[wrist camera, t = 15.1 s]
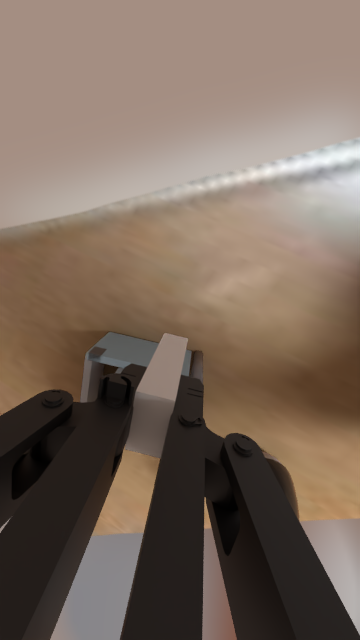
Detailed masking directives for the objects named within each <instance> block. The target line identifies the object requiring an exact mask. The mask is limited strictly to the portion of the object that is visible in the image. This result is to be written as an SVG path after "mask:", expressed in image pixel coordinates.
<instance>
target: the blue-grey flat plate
mask: <svg viewBox="0 0 360 640" xmlns="http://www.w3.org/2000/svg"><path fill="white" fill-rule="evenodd" d="M158 345H159V343H156V342H151V341H147V340H143V339H138V338H134V337H130V336H126V335H121V334H117V333H113V332H108V333H107V334H106V335H105V336H104V337H103V338H102V339H101V340H100V341H99V342H98V343H97V344H96V345H95V346H94V347H92V348H91V349H90V350H89V351H88V352H87V360H90V361H94V362H98V363H104V364H108V365H112V366H116V367H121V368H124V367H126V366H128V365H130V364H131V363H133V364H137V365H141V366H145V367H148V365H149V363H150V361H151V359H152V357H153V355H154V353H155V351H156V349H157V347H158ZM191 352H192V351H190V350H186V352H185V357H184V362H183V367H182V371H181V375H185V376H189V370H190V361H191Z"/></svg>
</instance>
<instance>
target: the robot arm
mask: <svg viewBox="0 0 360 640" xmlns="http://www.w3.org/2000/svg"><path fill="white" fill-rule="evenodd" d="M187 342H188V338H185V337H180V336H176V335H172V334H168V333H164V335H163V337H162V339H161V341H160V343H159V345H158V347H157V349H156V351H155V353H154V355H153V357H152V359H151V361H150V363H149V365H148V367H145V366H141V365H137V364H133V363H131V364H130V365H128V366H126V367H124V369H123V370H122V372H121V373H120V374H118V373H113V374H107V375H104V376H103V377H101V378H100V381H99V388H98V396H97V399H96V400H95V401H94V402H73V397H72V395H71V394H70V393H68V392H66V391H63V390H48V391H44V392H42V393H39V394H37V395H36V396H34V397H32V398H30V399H29V400H27V401H25V402H23V403H22V404H20V405H18V406H17V407H15V408H13V409H11V410H10V411H8V412H6V413H4V414H3V415H1V416H0V528H1V527H2V526H3V524H5V523H6V522H7V521H8V520H9V519H10V518H11V519H10V520H9V522H8V523H7V525H6V526H5V527H4V529H3V530H2V531H1V533H0V640H50V638H51V635H52V633H53V631H54V628H55V626H56V623H57V621H58V618H59V616H60V613H61V611H62V608H63V606H64V603H65V600H66V598H67V596H68V593H69V590H70V588H71V585H72V583H73V580H74V578H75V575H76V573H77V570H78V568H79V565H80V563H81V560H82V558H83V555H84V553H85V550H86V547H87V545H88V543H89V540H90V538H91V535H92V533H93V530H94V528H95V525H96V522H97V520H98V517H99V515H100V512H101V510H102V507H103V505H104V502H105V500H106V497H107V495H108V492H109V490H110V487H111V485H112V482H113V480H114V477H115V475H116V472H117V470H118V467H119V465H120V462H121V459H122V453H123V449H124V447H125V444H126V447H125V449H126V450H130V451H134V452H138V453H142V454H146V455H150V456H154V457H157V458H161V459H160V463H159V467H158V472H157V476H156V480H155V484H154V490H153V494H152V499H151V503H150V507H149V512H148V516H147V521H146V525H145V530H144V534H143V539H142V543H141V548H140V552H139V556H138V561H137V566H136V570H135V575H134V579H133V584H132V588H131V592H130V597H129V602H128V606H127V610H126V614H125V619H124V624H123V628H122V632H121V637H120V640H202V614H203V612H202V611H203V551H204V497H206V504H207V509H208V513H209V518H210V522H211V526H212V530H213V535H214V540H215V544H216V548H217V553H218V557H219V561H220V566H221V571H222V575H223V579H224V584H225V588H226V593H227V597H228V601H229V606H230V610H231V615H232V619H233V624H234V628H235V633H236V637H237V640H360V635H359V633H358V631H357V629H356V628H355V626H354V624H353V622H352V620H351V618H350V616H349V614H348V613H347V611H346V609H345V607H344V605H343V603H342V601H341V599H340V597H339V596H338V594H337V592H336V590H335V589H334V586H333V584H332V582H331V581H330V579H329V577H328V575H327V573H326V571H325V569H324V567H323V565H322V564H321V562H320V560H319V558H318V556H317V554H316V552H315V551H314V548H313V547H312V545H311V543H310V541H309V539H308V537H307V535H306V534H305V531H304V530H303V528H302V526H301V524H300V522H299V520H298V518H297V516H296V515H295V513H294V511H293V509H292V507H291V505H290V503H289V501H288V499H287V498H286V496H285V494H284V492H283V490H282V488H281V486H280V484H279V483H278V481H277V479H276V477H275V475H274V473H273V471H272V469H271V467H270V466H269V464H268V462H267V460H266V458H265V456H264V454H263V452H262V451H261V449H260V447H259V446H258V445H257V443H256V442H255V441H253V440H252V439H251V438H249V437H247V436H245V435H243V434H238V433H231V434H229V435H227V436H226V437H225V439H224V438H222V437H220V436H218V435H216V434H215V433H213V432H212V431H210V430H209V429H208V428H207V427H206V424H205V420H204V419H203V390H204V385H203V384H202V382H201V380H200V379H197V378H193V377H189V376H185V375H181V371H182V367H183V362H184V357H185V352H186V347H187Z"/></svg>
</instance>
